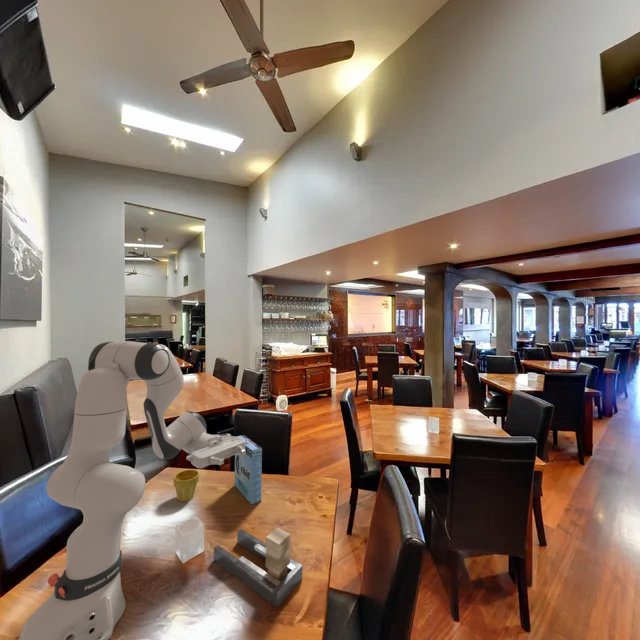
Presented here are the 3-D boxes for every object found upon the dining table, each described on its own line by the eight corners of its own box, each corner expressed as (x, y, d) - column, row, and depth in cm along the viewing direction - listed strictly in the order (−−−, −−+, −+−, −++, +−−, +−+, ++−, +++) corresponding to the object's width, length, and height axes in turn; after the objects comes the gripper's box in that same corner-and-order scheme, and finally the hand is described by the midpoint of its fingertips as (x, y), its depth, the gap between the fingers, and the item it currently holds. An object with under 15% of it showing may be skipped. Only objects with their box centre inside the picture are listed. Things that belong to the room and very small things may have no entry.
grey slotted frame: (276, 607, 78) (277, 592, 78) (213, 560, 94) (213, 547, 94) (302, 579, 87) (302, 565, 87) (240, 540, 103) (240, 528, 103)
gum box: (261, 501, 126) (262, 447, 127) (250, 505, 123) (251, 450, 124) (243, 482, 142) (244, 434, 142) (233, 485, 139) (234, 436, 139)
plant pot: (203, 495, 130) (204, 473, 130) (181, 507, 121) (182, 483, 121) (190, 488, 136) (190, 466, 136) (168, 498, 127) (168, 476, 127)
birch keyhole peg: (277, 597, 81) (278, 546, 82) (262, 586, 85) (263, 537, 85) (291, 582, 86) (292, 533, 87) (276, 572, 90) (277, 525, 90)
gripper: (183, 448, 102) (207, 458, 94) (231, 432, 119) (255, 439, 111) (183, 466, 102) (207, 478, 94) (231, 447, 119) (254, 456, 111)
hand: (233, 457), depth 103 cm, fingers open, 8 cm apart
